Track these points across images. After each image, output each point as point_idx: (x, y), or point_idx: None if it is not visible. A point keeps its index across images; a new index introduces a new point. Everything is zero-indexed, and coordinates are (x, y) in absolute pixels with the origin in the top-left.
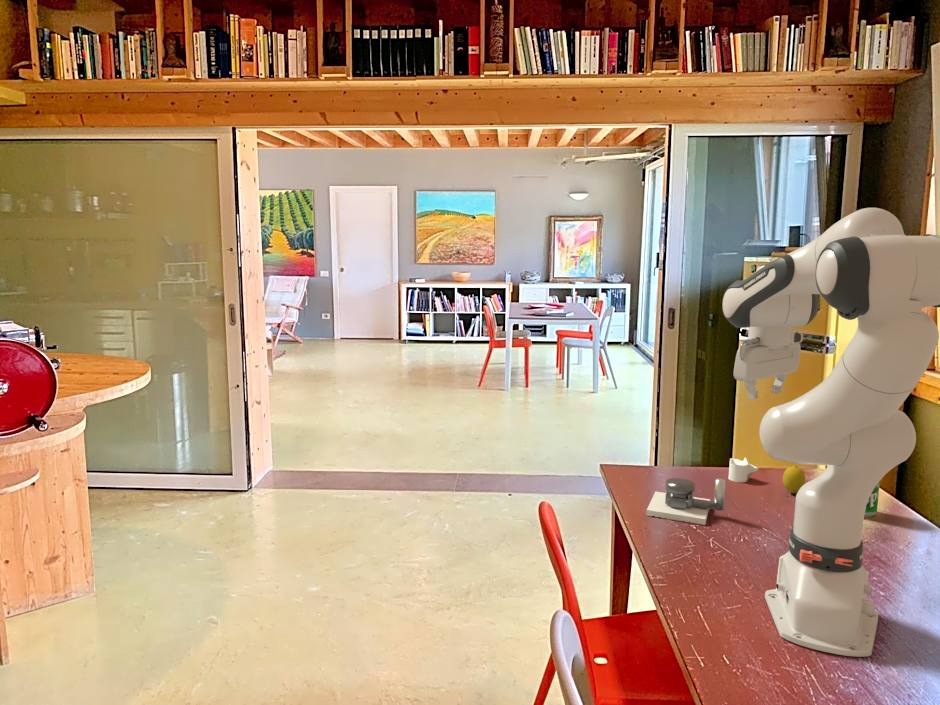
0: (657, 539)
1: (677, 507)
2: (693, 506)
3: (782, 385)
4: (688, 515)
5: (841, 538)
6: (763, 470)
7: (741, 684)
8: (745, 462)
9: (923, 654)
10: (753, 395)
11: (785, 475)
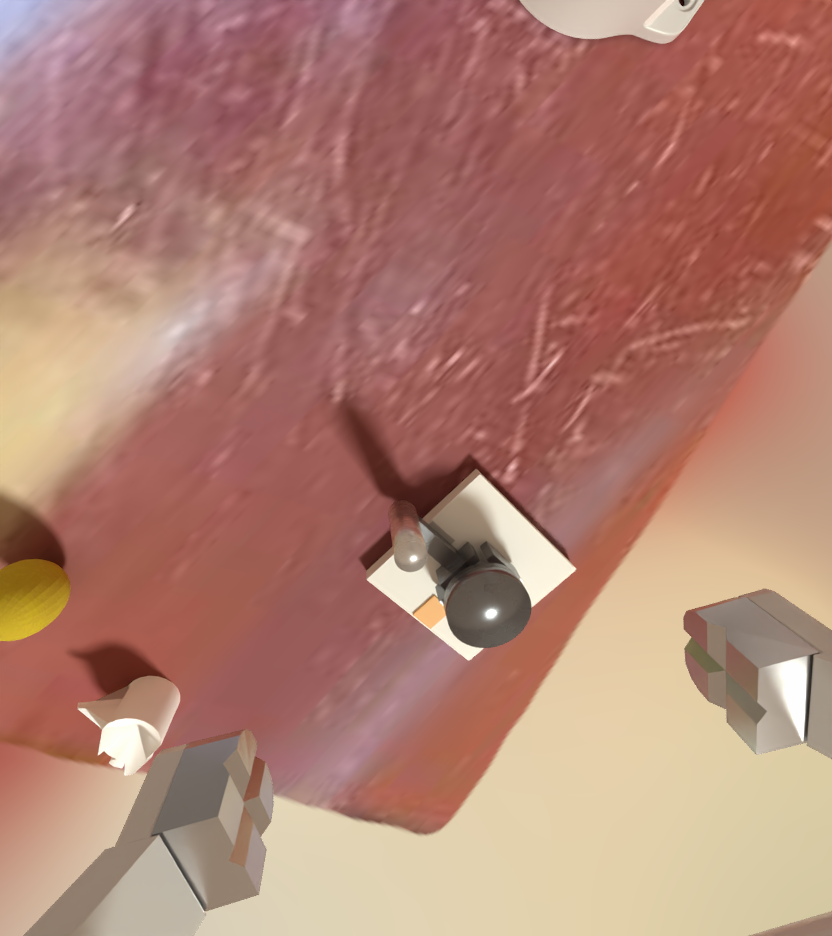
0: (648, 437)
1: None
2: None
3: (109, 852)
4: (504, 508)
5: None
6: (19, 733)
7: None
8: (108, 735)
9: None
10: (803, 618)
11: (51, 612)
